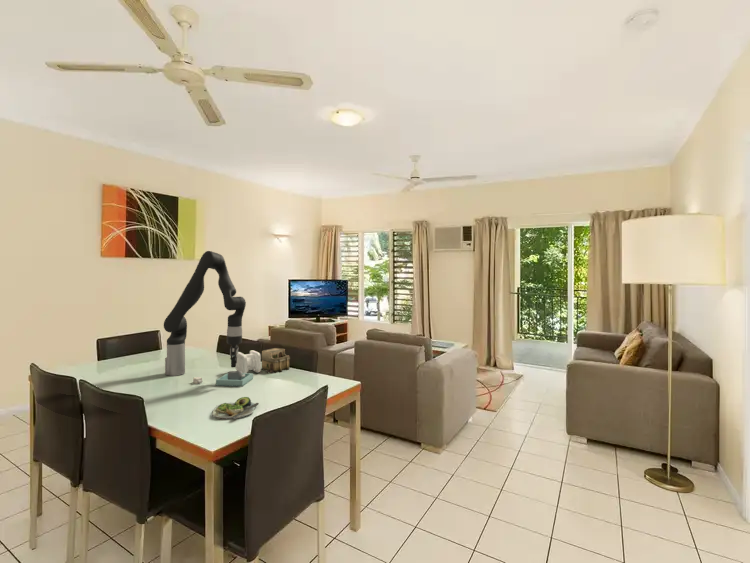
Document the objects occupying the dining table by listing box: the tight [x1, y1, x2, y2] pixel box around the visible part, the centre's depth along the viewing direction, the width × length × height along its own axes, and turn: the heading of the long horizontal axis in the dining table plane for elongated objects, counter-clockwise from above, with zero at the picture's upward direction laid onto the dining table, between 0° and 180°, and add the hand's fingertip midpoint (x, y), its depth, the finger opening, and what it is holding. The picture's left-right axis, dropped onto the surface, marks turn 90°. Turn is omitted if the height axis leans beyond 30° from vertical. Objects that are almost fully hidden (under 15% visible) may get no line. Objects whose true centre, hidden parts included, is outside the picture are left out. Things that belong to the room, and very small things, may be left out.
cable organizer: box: [235, 349, 262, 374], centre depth 225 cm, size 15×11×12 cm
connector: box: [227, 370, 245, 380], centre depth 206 cm, size 9×3×5 cm, turn 106°
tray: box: [215, 372, 254, 387], centre depth 205 cm, size 14×14×3 cm
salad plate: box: [211, 396, 259, 420], centre depth 161 cm, size 19×18×5 cm
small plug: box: [192, 376, 203, 385], centre depth 204 cm, size 5×3×3 cm, turn 52°
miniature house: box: [261, 347, 291, 374], centre depth 233 cm, size 15×14×11 cm
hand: (233, 365), depth 205 cm, fingers open, 8 cm apart
